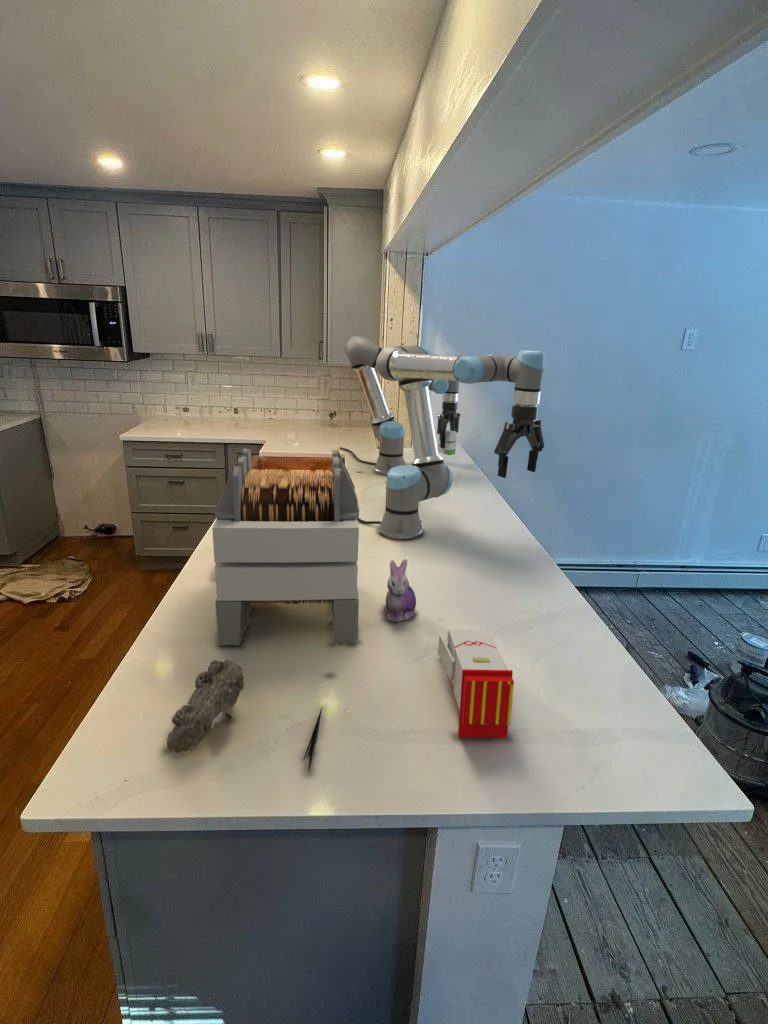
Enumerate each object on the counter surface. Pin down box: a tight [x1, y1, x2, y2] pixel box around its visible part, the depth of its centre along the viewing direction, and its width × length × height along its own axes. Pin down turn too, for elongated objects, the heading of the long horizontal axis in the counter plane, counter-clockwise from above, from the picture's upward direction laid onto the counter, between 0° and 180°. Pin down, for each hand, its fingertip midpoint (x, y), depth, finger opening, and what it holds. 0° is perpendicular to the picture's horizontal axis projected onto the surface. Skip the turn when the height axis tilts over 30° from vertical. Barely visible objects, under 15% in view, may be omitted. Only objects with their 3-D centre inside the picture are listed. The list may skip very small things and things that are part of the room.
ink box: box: [437, 428, 457, 456], centre depth 289 cm, size 9×5×12 cm, turn 36°
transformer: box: [212, 448, 360, 647], centre depth 140 cm, size 34×33×41 cm
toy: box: [437, 628, 515, 738], centre depth 117 cm, size 12×13×30 cm
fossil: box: [166, 658, 245, 754], centre depth 106 cm, size 22×10×15 cm
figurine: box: [384, 558, 417, 623], centre depth 145 cm, size 9×10×15 cm
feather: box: [301, 673, 332, 771], centre depth 108 cm, size 2×28×2 cm
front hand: (516, 473), depth 175 cm, fingers open, 13 cm apart
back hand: (446, 447), depth 290 cm, fingers closed on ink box, 5 cm apart
